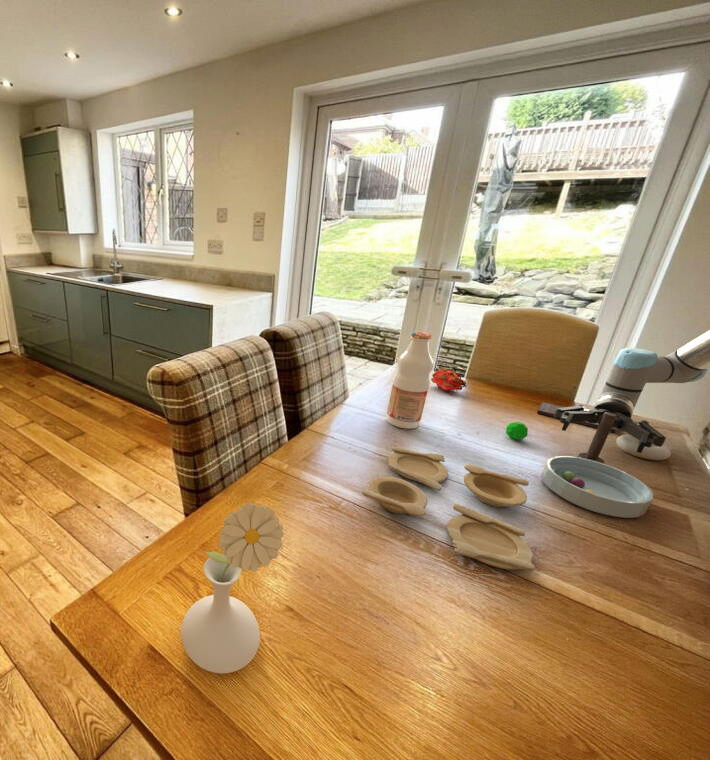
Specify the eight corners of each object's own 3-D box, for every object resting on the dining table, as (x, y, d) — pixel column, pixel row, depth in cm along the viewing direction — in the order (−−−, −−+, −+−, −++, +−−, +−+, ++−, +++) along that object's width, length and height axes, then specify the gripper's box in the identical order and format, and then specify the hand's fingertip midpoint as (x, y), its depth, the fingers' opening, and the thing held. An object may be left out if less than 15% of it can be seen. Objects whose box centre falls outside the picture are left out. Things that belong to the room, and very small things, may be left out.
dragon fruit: (427, 387, 150) (459, 402, 142) (422, 379, 144) (454, 394, 136) (441, 368, 149) (474, 383, 141) (436, 360, 144) (470, 374, 135)
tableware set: (531, 593, 65) (539, 574, 63) (352, 517, 81) (355, 501, 80) (529, 487, 91) (534, 472, 89) (394, 446, 107) (396, 433, 106)
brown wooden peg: (605, 465, 100) (628, 415, 94) (598, 470, 97) (621, 420, 92) (580, 455, 104) (601, 407, 98) (572, 461, 101) (593, 412, 96)
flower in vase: (172, 672, 53) (167, 527, 44) (190, 598, 64) (189, 468, 54) (269, 692, 51) (286, 543, 42) (271, 612, 61) (285, 479, 52)
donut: (626, 440, 111) (605, 446, 108) (631, 429, 110) (610, 435, 107) (675, 459, 103) (654, 466, 99) (682, 447, 101) (661, 454, 98)
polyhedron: (529, 442, 109) (535, 427, 108) (511, 442, 110) (516, 427, 108) (516, 433, 114) (521, 419, 112) (499, 433, 114) (504, 418, 112)
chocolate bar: (542, 401, 132) (616, 419, 120) (541, 404, 132) (615, 422, 121) (538, 410, 126) (616, 429, 114) (537, 412, 127) (615, 432, 115)
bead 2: (580, 487, 90) (589, 482, 88) (576, 492, 89) (585, 487, 87) (569, 479, 91) (578, 474, 89) (565, 483, 90) (574, 478, 88)
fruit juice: (378, 417, 123) (395, 330, 113) (404, 413, 126) (422, 328, 115) (399, 431, 115) (420, 338, 104) (426, 427, 117) (449, 336, 107)
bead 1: (562, 479, 93) (557, 477, 92) (568, 470, 93) (563, 468, 92) (574, 484, 91) (569, 482, 90) (580, 475, 91) (575, 473, 90)
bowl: (646, 496, 88) (655, 480, 86) (640, 533, 78) (650, 515, 76) (549, 463, 100) (555, 448, 98) (532, 490, 90) (538, 474, 88)
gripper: (673, 440, 101) (670, 472, 89) (550, 408, 119) (533, 430, 106) (687, 415, 99) (685, 443, 86) (559, 385, 116) (542, 405, 103)
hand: (601, 436), depth 96 cm, fingers open, 13 cm apart
